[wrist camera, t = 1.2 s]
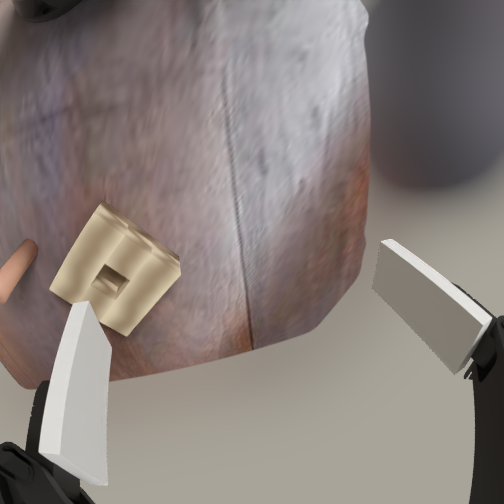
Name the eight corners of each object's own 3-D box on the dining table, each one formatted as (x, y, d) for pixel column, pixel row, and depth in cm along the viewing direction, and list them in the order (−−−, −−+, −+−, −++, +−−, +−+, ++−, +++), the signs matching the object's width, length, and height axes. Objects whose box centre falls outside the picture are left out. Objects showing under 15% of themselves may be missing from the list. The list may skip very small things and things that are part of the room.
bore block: (59, 270, 42) (49, 289, 36) (102, 200, 39) (94, 212, 34) (128, 315, 50) (126, 336, 44) (178, 256, 47) (180, 274, 42)
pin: (19, 250, 37) (-15, 294, 26) (26, 235, 37) (-10, 278, 25) (33, 261, 39) (3, 308, 27) (40, 247, 39) (8, 292, 27)
